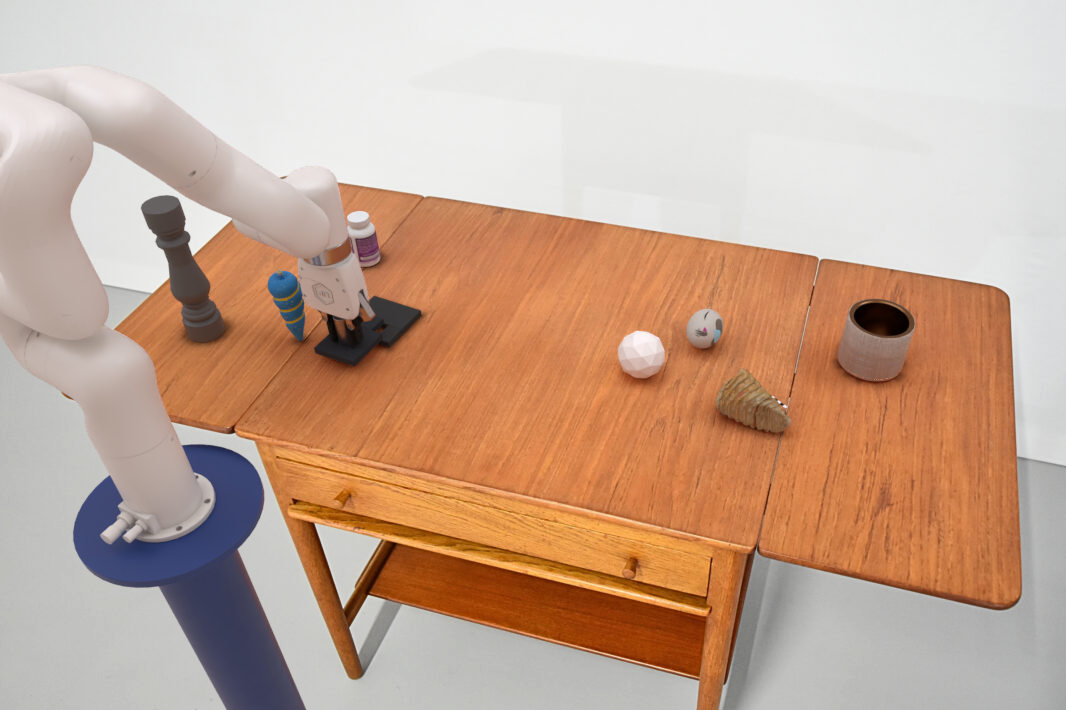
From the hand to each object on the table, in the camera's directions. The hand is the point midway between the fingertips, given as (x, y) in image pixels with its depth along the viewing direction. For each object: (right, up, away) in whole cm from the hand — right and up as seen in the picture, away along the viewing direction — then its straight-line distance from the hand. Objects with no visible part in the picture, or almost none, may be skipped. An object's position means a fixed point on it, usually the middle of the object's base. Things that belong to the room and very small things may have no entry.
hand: (347, 339), depth 149 cm
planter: (+88, -4, +2) cm, 88 cm away
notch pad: (+3, +3, +8) cm, 9 cm away
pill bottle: (-3, +17, +23) cm, 28 cm away
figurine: (+60, -1, +5) cm, 60 cm away
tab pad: (+1, 0, +2) cm, 2 cm away
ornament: (-9, 0, +5) cm, 11 cm away
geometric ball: (+49, -6, 0) cm, 49 cm away
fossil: (+67, -12, -7) cm, 68 cm away
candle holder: (-26, +2, +6) cm, 27 cm away
